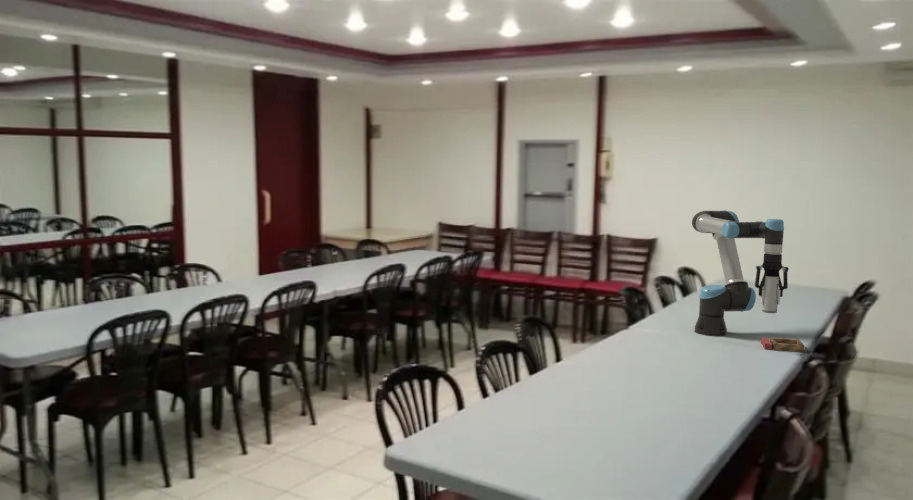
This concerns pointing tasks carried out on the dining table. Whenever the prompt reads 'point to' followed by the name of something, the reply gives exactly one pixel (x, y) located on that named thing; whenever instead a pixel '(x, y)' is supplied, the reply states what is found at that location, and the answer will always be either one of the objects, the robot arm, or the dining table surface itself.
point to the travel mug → (770, 291)
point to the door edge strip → (766, 343)
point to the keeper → (787, 345)
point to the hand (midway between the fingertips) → (770, 303)
